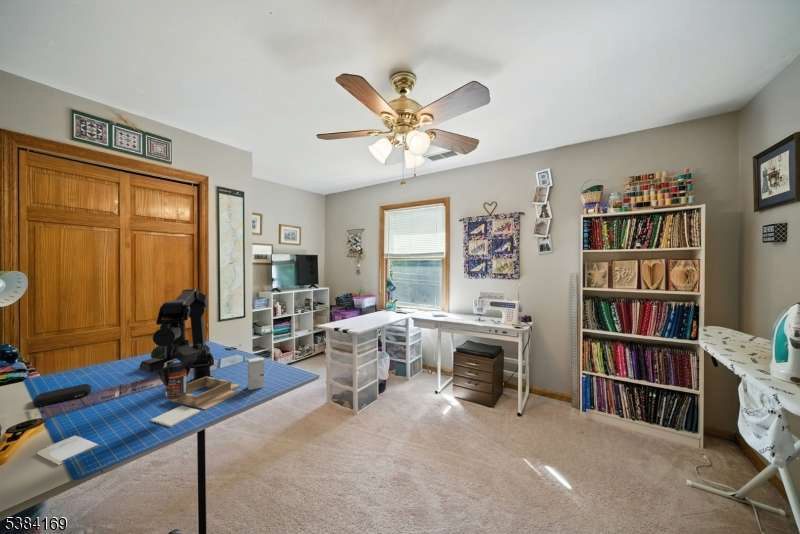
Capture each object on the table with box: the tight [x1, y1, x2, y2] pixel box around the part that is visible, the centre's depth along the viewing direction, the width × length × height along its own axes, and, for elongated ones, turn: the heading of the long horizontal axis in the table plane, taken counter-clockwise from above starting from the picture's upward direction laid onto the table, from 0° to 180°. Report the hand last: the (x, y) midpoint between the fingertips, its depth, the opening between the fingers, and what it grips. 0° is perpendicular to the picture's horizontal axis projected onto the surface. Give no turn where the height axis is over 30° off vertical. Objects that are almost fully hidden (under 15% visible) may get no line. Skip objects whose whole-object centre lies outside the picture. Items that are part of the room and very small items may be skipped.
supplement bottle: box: [164, 362, 188, 400], centre depth 102 cm, size 6×6×11 cm
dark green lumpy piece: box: [150, 345, 174, 367], centre depth 145 cm, size 9×19×25 cm
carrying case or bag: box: [32, 383, 92, 407], centre depth 115 cm, size 11×3×15 cm
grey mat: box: [150, 405, 201, 428], centre depth 102 cm, size 10×10×1 cm
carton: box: [169, 376, 242, 411], centre depth 119 cm, size 20×20×4 cm
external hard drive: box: [47, 435, 100, 462], centre depth 84 cm, size 2×8×12 cm
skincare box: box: [247, 356, 265, 391], centre depth 126 cm, size 6×4×12 cm
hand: (176, 381), depth 102 cm, fingers closed on supplement bottle, 6 cm apart
